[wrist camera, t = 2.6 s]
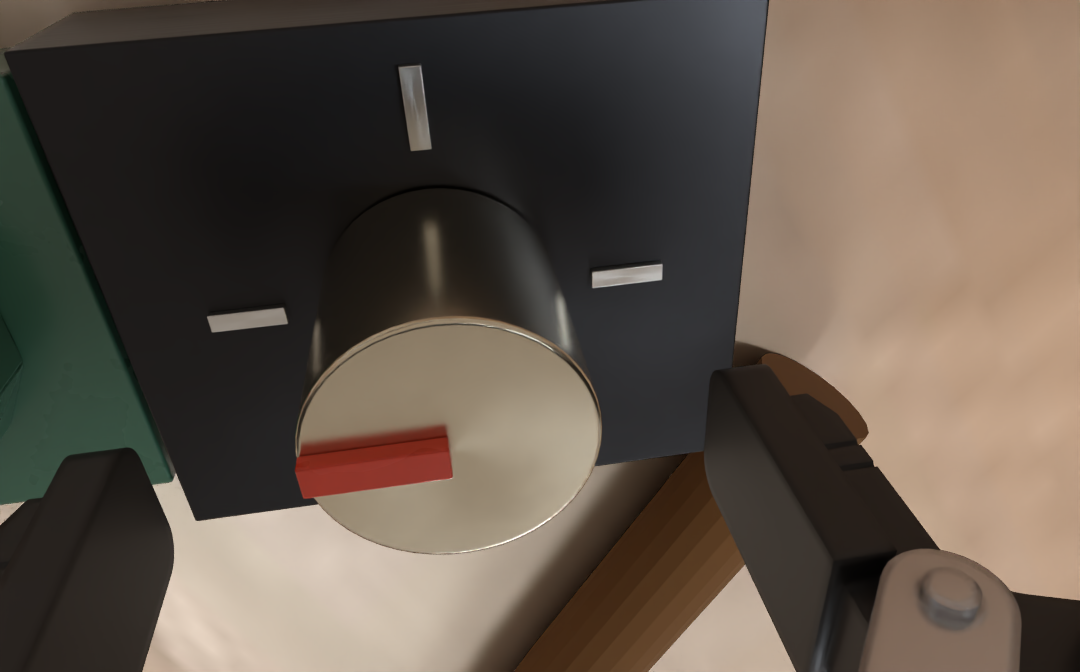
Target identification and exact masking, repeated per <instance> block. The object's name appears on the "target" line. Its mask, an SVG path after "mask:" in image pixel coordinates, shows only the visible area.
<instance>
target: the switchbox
mask: <svg viewBox="0 0 1080 672" xmlns="http://www.w3.org/2000/svg"><path fill="white" fill-rule="evenodd" d="M8 49H10V48H2V49H0V505H4V504H11V503H19V502H26V501H27V500H28V499H35V498H42V497H43V496H44V494H45V493H46V491H47V489H48V487H49V485H50V483H51V481H52V479H53V477H54V475H55V474H56V472H57V470H58V468H59V466H60V464H61V463H62V461H63V460H64V459H65V458H66V457H67V456H69V455H73V454H81V453H88V452H96V451H103V450H111V449H118V448H126V447H129V448H132V449H134V450H135V451H136V452H137V454H138V455H139V457H140V459H141V461H142V464H143V466H144V468H145V470H146V473H147V475H148V477H149V480H150V482H151V484H152V485H154V484H161V483H169V482H172V481H173V479H174V476H175V473H176V471H175V469H174V467H173V464H172V462H171V459H170V457H169V454H168V452H167V450H166V447H165V445H164V442H163V440H162V437H161V435H160V433H159V430H158V428H157V425H156V423H155V420H154V418H153V416H152V413H151V411H150V408H149V406H148V403H147V401H146V399H145V396H144V394H143V391H142V389H141V387H140V384H139V382H138V379H137V377H136V374H135V372H134V370H133V367H132V365H131V362H130V360H129V357H128V355H127V353H126V350H125V348H124V345H123V343H122V340H121V338H120V336H119V333H118V331H117V328H116V326H115V323H114V321H113V319H112V316H111V314H110V311H109V309H108V306H107V304H106V302H105V299H104V297H103V294H102V292H101V289H100V287H99V285H98V282H97V280H96V277H95V275H94V272H93V270H92V268H91V265H90V263H89V260H88V258H87V256H86V253H85V251H84V248H83V246H82V243H81V241H80V239H79V236H78V234H77V231H76V229H75V226H74V224H73V222H72V219H71V217H70V214H69V212H68V209H67V207H66V205H65V202H64V200H63V197H62V195H61V192H60V190H59V188H58V185H57V183H56V180H55V178H54V175H53V173H52V171H51V168H50V166H49V163H48V161H47V158H46V156H45V154H44V151H43V149H42V146H41V144H40V142H39V139H38V137H37V134H36V132H35V129H34V127H33V125H32V122H31V120H30V117H29V115H28V112H27V110H26V108H25V105H24V103H23V100H22V98H21V95H20V93H19V91H18V88H17V86H16V83H15V81H14V78H13V76H12V74H11V71H10V69H9V66H8V64H7V61H6V59H5V57H4V52H5V51H6V50H8Z"/></svg>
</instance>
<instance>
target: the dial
mask: <svg viewBox="0 0 1080 672" xmlns="http://www.w3.org/2000/svg"><path fill="white" fill-rule="evenodd" d="M602 427H603V426H602V415H601V409H600V405H599V401H598V398H597V394H596V391H595V388H594V385H593V382H592V379H591V377H590V374H589V371H588V368H587V365H586V362H585V359H584V356H583V353H582V350H581V347H580V344H579V341H578V338H577V335H576V332H575V329H574V326H573V323H572V320H571V317H570V314H569V311H568V308H567V305H566V302H565V299H564V296H563V293H562V290H561V287H560V284H559V281H558V278H557V275H556V272H555V269H554V266H553V263H552V260H551V257H550V255H549V253H548V251H547V248H546V246H545V244H544V243H543V241H542V240H541V238H540V237H539V235H538V234H537V232H536V231H535V230H534V229H533V228H532V227H531V225H530V224H529V223H528V222H527V221H526V220H524V219H523V218H522V217H521V216H520V215H519V214H518V213H516V212H515V211H513V210H512V209H510V208H509V207H507V206H506V205H504V204H502V203H500V202H498V201H496V200H494V199H492V198H489V197H486V196H483V195H480V194H478V193H474V192H469V191H464V190H459V189H447V188H436V189H423V190H417V191H411V192H407V193H404V194H401V195H397V196H394V197H392V198H390V199H387V200H385V201H383V202H380V203H379V204H377V205H375V206H374V207H372V208H370V209H369V210H367V211H366V212H364V213H363V214H362V215H361V216H359V217H358V218H357V219H356V220H354V221H353V222H352V223H351V225H350V226H349V227H348V228H347V229H346V230H345V231H344V232H343V233H342V235H341V236H340V238H339V239H338V241H337V242H336V243H335V245H334V247H333V249H332V251H331V253H330V255H329V257H328V261H327V264H326V267H325V270H324V275H323V281H322V286H321V291H320V297H319V302H318V308H317V313H316V319H315V324H314V330H313V335H312V341H311V346H310V352H309V357H308V363H307V368H306V374H305V379H304V385H303V390H302V395H301V401H300V406H299V412H298V417H297V424H296V430H295V453H296V458H297V460H296V466H295V473H296V477H297V480H298V483H299V487H300V490H301V493H302V496H303V498H305V499H306V498H314V499H315V500H316V501H317V503H318V504H319V505H320V506H321V508H322V509H323V510H324V511H325V512H326V513H327V514H328V515H330V516H331V517H332V518H333V519H334V520H335V521H336V522H338V523H339V524H341V525H342V526H343V527H345V528H346V529H348V530H349V531H351V532H353V533H355V534H357V535H358V536H360V537H362V538H364V539H366V540H369V541H371V542H374V543H376V544H379V545H382V546H386V547H389V548H393V549H396V550H401V551H407V552H412V553H422V554H458V553H468V552H473V551H479V550H484V549H488V548H492V547H495V546H499V545H502V544H505V543H508V542H510V541H513V540H515V539H518V538H520V537H522V536H524V535H526V534H528V533H530V532H532V531H534V530H536V529H537V528H539V527H540V526H542V525H544V524H545V523H547V522H548V521H550V520H551V519H552V518H554V517H555V516H556V515H557V514H559V513H560V512H561V511H562V510H563V509H564V508H565V507H566V506H567V505H568V504H569V503H570V502H571V501H572V500H573V499H574V498H575V497H576V495H577V494H578V493H579V492H580V490H581V489H582V488H583V486H584V485H585V483H586V481H587V480H588V478H589V476H590V474H591V473H592V470H593V468H594V465H595V463H596V460H597V458H598V454H599V450H600V445H601V441H602Z"/></svg>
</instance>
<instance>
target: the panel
mask: <svg viewBox="0 0 1080 672" xmlns="http://www.w3.org/2000/svg"><path fill="white" fill-rule="evenodd" d="M768 6H769V0H223V1H211V2H199V3H186V4H174V5H161V6H149V7H136V8H124V9H112V10H99V11H87V12H74V13H72V14H70V15H68V16H66V17H65V18H63V19H61V20H59V21H58V22H56V23H54V24H52V25H51V26H49V27H47V28H45V29H43V30H42V31H40V32H38V33H36V34H35V35H33V36H31V37H29V38H28V39H26V40H24V41H22V42H21V43H19V44H17V45H15V46H13V47H12V48H10V49H8V50H6V51H5V52H4V57H5V59H6V61H7V64H8V66H9V69H10V71H11V74H12V76H13V78H14V81H15V83H16V86H17V88H18V91H19V93H20V95H21V98H22V100H23V103H24V105H25V108H26V110H27V112H28V115H29V117H30V120H31V122H32V125H33V127H34V129H35V132H36V134H37V137H38V139H39V142H40V144H41V146H42V149H43V151H44V154H45V156H46V158H47V161H48V163H49V166H50V168H51V171H52V173H53V175H54V178H55V180H56V183H57V185H58V188H59V190H60V192H61V195H62V197H63V200H64V202H65V205H66V207H67V209H68V212H69V214H70V217H71V219H72V222H73V224H74V226H75V229H76V231H77V234H78V236H79V239H80V241H81V243H82V246H83V248H84V251H85V253H86V256H87V258H88V260H89V263H90V265H91V268H92V270H93V272H94V275H95V277H96V280H97V282H98V285H99V287H100V289H101V292H102V294H103V297H104V299H105V302H106V304H107V306H108V309H109V311H110V314H111V316H112V319H113V321H114V323H115V326H116V328H117V331H118V333H119V336H120V338H121V340H122V343H123V345H124V348H125V350H126V353H127V355H128V357H129V360H130V362H131V365H132V367H133V370H134V372H135V374H136V377H137V379H138V382H139V384H140V387H141V389H142V391H143V394H144V396H145V399H146V401H147V403H148V406H149V408H150V411H151V413H152V416H153V418H154V420H155V423H156V425H157V428H158V430H159V433H160V435H161V437H162V440H163V442H164V445H165V447H166V450H167V452H168V454H169V457H170V459H171V462H172V464H173V467H174V469H175V471H176V474H177V476H178V479H179V481H180V484H181V486H182V488H183V491H184V493H185V496H186V498H187V501H188V503H189V505H190V508H191V510H192V513H193V515H194V517H195V520H196V521H201V520H208V519H215V518H223V517H230V516H237V515H244V514H252V513H259V512H266V511H273V510H281V509H288V508H295V507H302V506H310V505H317V504H318V503H317V501H316V500H315V499H314V498H306V499H305V498H303V496H302V493H301V490H300V487H299V483H298V480H297V477H296V473H295V466H296V460H297V458H296V453H295V430H296V424H297V417H298V412H299V406H300V401H301V395H302V390H303V385H304V379H305V374H306V368H307V363H308V357H309V352H310V346H311V341H312V335H313V330H314V324H315V319H316V313H317V308H318V302H319V297H320V291H321V286H322V281H323V275H324V270H325V267H326V264H327V261H328V257H329V255H330V253H331V251H332V249H333V247H334V245H335V243H336V242H337V241H338V239H339V238H340V236H341V235H342V233H343V232H344V231H345V230H346V229H347V228H348V227H349V226H350V225H351V223H352V222H353V221H354V220H356V219H357V218H358V217H359V216H361V215H362V214H363V213H364V212H366V211H367V210H369V209H370V208H372V207H374V206H375V205H377V204H379V203H380V202H383V201H385V200H387V199H390V198H392V197H394V196H397V195H401V194H404V193H407V192H411V191H417V190H423V189H436V188H447V189H459V190H464V191H469V192H474V193H478V194H480V195H483V196H486V197H489V198H492V199H494V200H496V201H498V202H500V203H502V204H504V205H506V206H507V207H509V208H510V209H512V210H513V211H515V212H516V213H518V214H519V215H520V216H521V217H522V218H523V219H524V220H526V221H527V222H528V223H529V224H530V225H531V227H532V228H533V229H534V230H535V231H536V232H537V234H538V235H539V237H540V238H541V240H542V241H543V243H544V244H545V246H546V248H547V251H548V253H549V255H550V257H551V260H552V263H553V266H554V269H555V272H556V275H557V278H558V281H559V284H560V287H561V290H562V293H563V296H564V299H565V302H566V305H567V308H568V311H569V314H570V317H571V320H572V323H573V326H574V329H575V332H576V335H577V338H578V341H579V344H580V347H581V350H582V353H583V356H584V359H585V362H586V365H587V368H588V371H589V374H590V377H591V379H592V382H593V385H594V388H595V391H596V394H597V398H598V401H599V405H600V409H601V415H602V426H603V427H602V441H601V445H600V450H599V454H598V458H597V460H596V463H595V465H594V466H600V465H607V464H615V463H622V462H629V461H636V460H644V459H651V458H658V457H665V456H673V455H680V454H687V453H694V452H702V451H704V443H705V431H706V419H707V407H708V395H709V384H710V378H711V375H712V373H713V371H715V370H720V369H728V368H732V364H733V354H734V344H735V334H736V324H737V314H738V304H739V295H740V285H741V275H742V265H743V255H744V245H745V235H746V225H747V215H748V205H749V195H750V185H751V175H752V165H753V155H754V145H755V135H756V125H757V115H758V106H759V96H760V86H761V76H762V66H763V56H764V46H765V36H766V26H767V16H768Z"/></svg>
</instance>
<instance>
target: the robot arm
mask: <svg viewBox="0 0 1080 672" xmlns="http://www.w3.org/2000/svg"><path fill="white" fill-rule="evenodd" d="M704 464H705V471H706V476H707V480H708V484H709V487H710V490H711V492H712V495H713V497H714V499H715V501H716V503H717V505H718V507H719V510H720V512H721V514H722V516H723V518H724V520H725V522H726V524H727V526H728V529H729V531H730V533H731V535H732V537H733V539H734V541H735V543H736V545H737V548H738V550H739V552H740V554H741V556H742V558H743V560H744V562H745V564H746V567H747V569H748V571H749V573H750V575H751V577H752V579H753V581H754V583H755V586H756V588H757V590H758V592H759V594H760V596H761V598H762V600H763V602H764V605H765V607H766V609H767V611H768V613H769V615H770V617H771V619H772V622H773V624H774V626H775V628H776V630H777V632H778V634H779V636H780V638H781V641H782V643H783V645H784V647H785V649H786V651H787V653H788V655H789V657H790V660H791V662H792V664H793V666H794V668H795V670H796V672H1080V601H1079V600H1070V599H1062V598H1053V597H1045V596H1036V595H1028V594H1022V593H1016V592H1012V591H1010V590H1009V589H1008V587H1007V586H1006V585H1005V584H1004V583H1003V582H1002V581H1001V580H1000V579H999V578H998V577H997V576H996V575H994V574H993V573H992V572H991V571H989V570H988V569H986V568H985V567H983V566H982V565H980V564H978V563H977V562H974V561H972V560H970V559H968V558H966V557H964V556H961V555H958V554H955V553H952V552H948V551H944V550H940V549H939V548H938V546H937V545H936V544H935V542H934V541H933V540H932V538H931V537H930V536H929V534H928V533H927V532H926V530H925V529H924V528H923V526H922V525H921V524H920V522H919V521H918V520H917V518H916V517H915V516H914V514H913V513H912V512H911V511H910V509H909V508H908V507H907V505H906V504H905V503H904V501H903V500H902V499H901V497H900V496H899V495H898V493H897V492H896V491H895V489H894V488H893V487H892V485H891V484H890V483H889V481H888V480H887V479H886V477H885V476H884V475H883V473H882V472H881V471H880V469H879V468H878V467H874V465H873V460H872V459H871V457H870V456H869V455H868V453H867V452H866V451H865V449H864V448H863V447H862V445H858V443H857V439H856V437H855V436H854V435H853V433H852V432H851V431H850V429H849V428H848V427H847V425H846V424H845V423H844V421H843V420H842V419H841V417H840V416H839V415H838V414H837V413H836V412H834V411H833V410H831V409H830V408H828V407H827V406H825V405H824V404H822V403H821V402H819V401H818V400H816V399H815V398H813V397H812V396H810V395H809V394H807V393H805V394H798V395H791V396H790V395H789V393H788V392H787V390H786V389H785V387H784V386H783V385H782V383H781V382H780V380H779V379H778V377H777V376H776V374H775V373H774V372H773V370H772V369H771V368H770V367H769V366H768V365H766V364H758V365H750V366H743V367H735V368H728V369H720V370H715V371H713V373H712V375H711V378H710V384H709V395H708V407H707V419H706V431H705V443H704ZM173 563H174V544H173V537H172V532H171V528H170V526H169V523H168V521H167V518H166V516H165V514H164V512H163V509H162V507H161V505H160V502H159V500H158V498H157V496H156V493H155V491H154V489H153V486H152V484H151V482H150V480H149V477H148V475H147V473H146V470H145V468H144V466H143V464H142V461H141V459H140V457H139V455H138V454H137V452H136V451H135V450H134V449H132V448H129V447H126V448H118V449H111V450H103V451H96V452H88V453H81V454H73V455H69V456H67V457H66V458H65V459H64V460H63V461H62V463H61V464H60V466H59V468H58V470H57V472H56V474H55V475H54V477H53V479H52V481H51V483H50V485H49V487H48V489H47V491H46V493H45V494H44V496H43V497H42V498H35V499H28V500H27V501H26V502H25V503H24V504H22V505H21V506H20V507H19V508H18V509H17V510H16V511H15V512H14V513H13V514H12V515H11V516H10V517H9V518H8V519H7V520H6V521H5V522H3V523H2V524H1V525H0V672H142V670H143V667H144V664H145V660H146V657H147V654H148V650H149V647H150V644H151V640H152V637H153V634H154V630H155V627H156V624H157V620H158V617H159V614H160V610H161V607H162V604H163V600H164V597H165V594H166V590H167V587H168V584H169V581H170V577H171V574H172V570H173Z"/></svg>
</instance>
